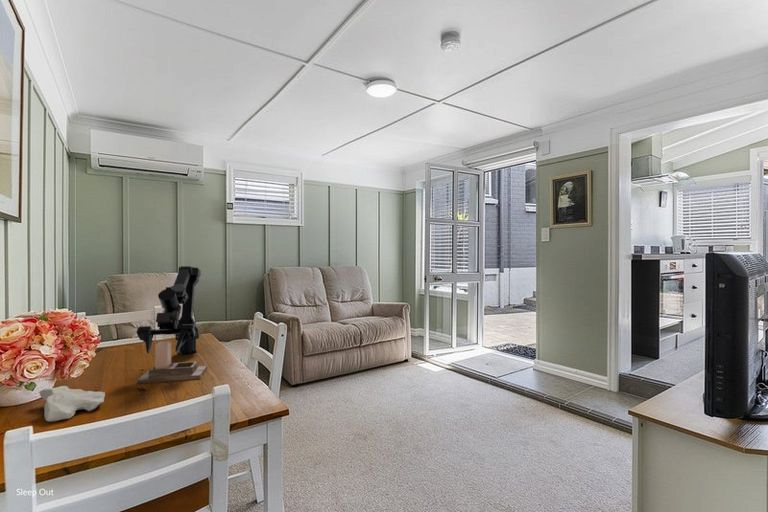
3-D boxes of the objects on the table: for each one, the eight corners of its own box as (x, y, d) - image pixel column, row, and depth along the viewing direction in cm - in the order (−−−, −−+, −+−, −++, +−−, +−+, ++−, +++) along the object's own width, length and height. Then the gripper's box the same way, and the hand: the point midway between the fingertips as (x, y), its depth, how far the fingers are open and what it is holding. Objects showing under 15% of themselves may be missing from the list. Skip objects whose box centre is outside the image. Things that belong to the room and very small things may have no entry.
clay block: (159, 371, 138) (159, 342, 138) (171, 370, 139) (171, 341, 139) (155, 375, 133) (155, 345, 133) (167, 374, 134) (167, 344, 134)
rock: (100, 392, 122) (38, 399, 112) (102, 378, 122) (40, 384, 112) (107, 418, 106) (35, 430, 96) (109, 402, 106) (37, 412, 96)
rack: (149, 372, 140) (149, 363, 140) (206, 368, 145) (206, 359, 145) (136, 383, 129) (136, 372, 129) (200, 378, 134) (200, 368, 134)
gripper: (138, 304, 137) (125, 341, 127) (193, 303, 142) (186, 338, 132) (146, 322, 145) (135, 358, 134) (198, 320, 150) (191, 354, 139)
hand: (162, 351), depth 135 cm, fingers open, 9 cm apart
